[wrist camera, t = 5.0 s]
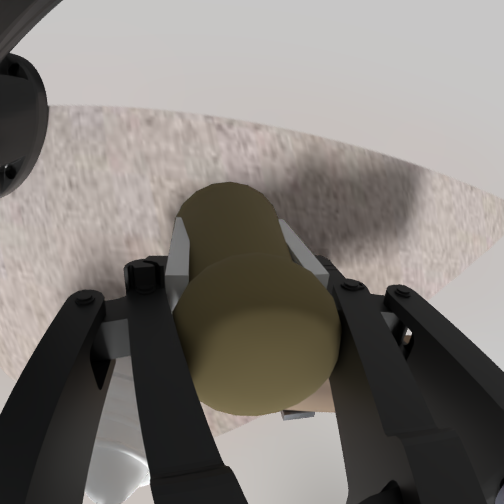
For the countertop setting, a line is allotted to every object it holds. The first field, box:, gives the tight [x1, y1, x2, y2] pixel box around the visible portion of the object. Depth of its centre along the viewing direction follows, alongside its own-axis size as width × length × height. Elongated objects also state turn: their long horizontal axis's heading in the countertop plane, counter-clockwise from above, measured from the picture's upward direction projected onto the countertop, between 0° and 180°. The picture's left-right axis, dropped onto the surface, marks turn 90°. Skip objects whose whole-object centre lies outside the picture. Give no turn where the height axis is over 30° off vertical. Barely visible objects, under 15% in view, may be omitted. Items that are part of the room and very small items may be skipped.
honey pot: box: [85, 356, 150, 504], centre depth 27 cm, size 13×13×18 cm
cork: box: [172, 182, 342, 416], centre depth 13 cm, size 6×6×11 cm
